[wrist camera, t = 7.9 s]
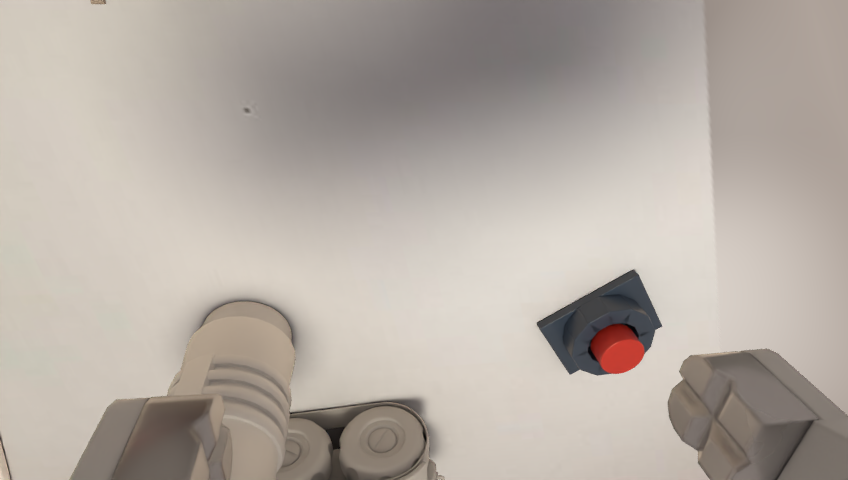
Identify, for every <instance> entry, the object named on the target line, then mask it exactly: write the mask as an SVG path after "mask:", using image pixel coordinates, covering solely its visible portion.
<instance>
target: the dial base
mask: <svg viewBox="0 0 848 480" xmlns="http://www.w3.org/2000/svg"><path fill="white" fill-rule="evenodd" d="M91 4H106V0H91Z"/></svg>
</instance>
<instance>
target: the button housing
mask: <svg viewBox="0 0 848 480" xmlns="http://www.w3.org/2000/svg"><path fill="white" fill-rule="evenodd" d="M612 324H623V325H626V326H628V327H629V328H630V329H631V330H632V331H633V333H634V334H635V335H636V337H637V338H638V339H639V340H640V342H641V343H642V344H643V346H644V354H645V353H646V352H647V350H648V349H649V348H650V347H651V344H652V340H653V337H654V333H655V330H656V329H658V328H660V327H662V325H661V322H660V320H659V318H658V316H657V314H656V312H655V309H654V307H653V305H652V303H651V301H650V299H649V296H648V294H647V292H646V290H645V288H644V286H643V283H642V281H641V279H640V277H639V275H638V274H637V273H636V272H635V270H632V271H630V272H629V273H627V274H625V275H623V276H621V277H620V278H618V279H616V280H614V281H612V282H610V283H609V284H607V285H605V286H603V287H601V288H600V289H598V290H596V291H594V292H592V293H591V294H589V295H587V296H585V297H583V298H581V299H580V300H578V301H576V302H574V303H572V304H571V305H569V306H567V307H565V308H563V309H562V310H560V311H558V312H556V313H554V314H552V315H551V316H549V317H547V318H545V319H543V320H542V321H540V322H538V323H537V325H538V327H539V329H540V330H541V332H542V333H543V335H544V336H545V338H546V339H547V341H548V342H549V344H550V345H551V347H552V348H553V350H554V351H555V353H556V354H557V356H558V357H559V359H560V361H561V362H562V364H563V365H564V367H565V368H566V370H567V371H568V373H569V374H572V373H574V372H576V371H578V370H583V371H586V372H588V373H591V374H594V375H604V374H612V373H608V372H606V371H605V370H604V369H603V368H602V367H601V365H600V364H599V362H598V361H597V359H596V357H595V356H594V354H593V353H592V351H591V341H592V339H593V337H594V336H595V335H596V333H597V332H598V331H600V330H602V329H603V328H605V327H607V326H609V325H612Z"/></svg>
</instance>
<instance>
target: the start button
mask: <svg viewBox="0 0 848 480" xmlns="http://www.w3.org/2000/svg"><path fill="white" fill-rule="evenodd" d="M591 351H592V353H593V354H594V356H595V357H596V359H597V361H598V362H599V364H600V365H601V367H602V368H603V369H604V370H605V371H606V372H608V373H612V374H619V373H624V372H627V371H629V370H631V369H632V368H634V367H635V366H637V365H638V364H639V363H640V361H641V360H642V358H643V356H644V346H643V344H642V343H641V342H640V340H639V339H638V338H637V337H636V335H635V334H634V333H633V331H632V330H631V329H630V328H629V327H628V326H626V325H623V324H612V325H609V326H607V327H605V328H603V329H602V330H600V331H598V332H597V333H596V335H595V336H594V337H593V339H592V341H591Z"/></svg>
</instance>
